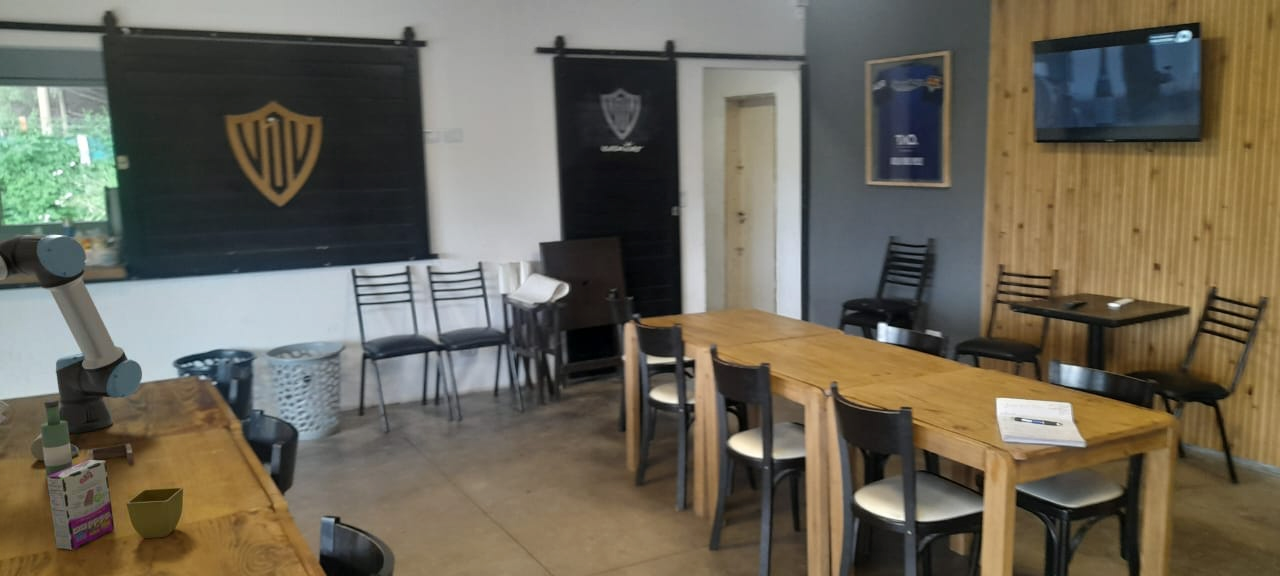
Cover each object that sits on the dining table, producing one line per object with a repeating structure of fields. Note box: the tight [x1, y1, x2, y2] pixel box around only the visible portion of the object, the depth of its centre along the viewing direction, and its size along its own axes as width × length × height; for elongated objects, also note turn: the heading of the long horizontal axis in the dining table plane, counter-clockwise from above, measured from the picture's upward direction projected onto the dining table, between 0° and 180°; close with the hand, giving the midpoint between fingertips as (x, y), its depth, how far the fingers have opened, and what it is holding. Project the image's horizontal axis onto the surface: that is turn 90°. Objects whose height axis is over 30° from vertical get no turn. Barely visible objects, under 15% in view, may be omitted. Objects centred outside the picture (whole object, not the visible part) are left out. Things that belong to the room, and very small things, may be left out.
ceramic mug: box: [30, 433, 79, 462], centre depth 260 cm, size 11×8×8 cm
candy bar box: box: [46, 459, 115, 551], centre depth 201 cm, size 11×5×16 cm, turn 164°
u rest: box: [87, 442, 134, 465], centre depth 255 cm, size 10×10×3 cm
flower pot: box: [126, 487, 184, 539], centre depth 204 cm, size 9×9×9 cm
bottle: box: [40, 399, 73, 477], centre depth 243 cm, size 6×6×20 cm
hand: (3, 415), depth 237 cm, fingers open, 13 cm apart
